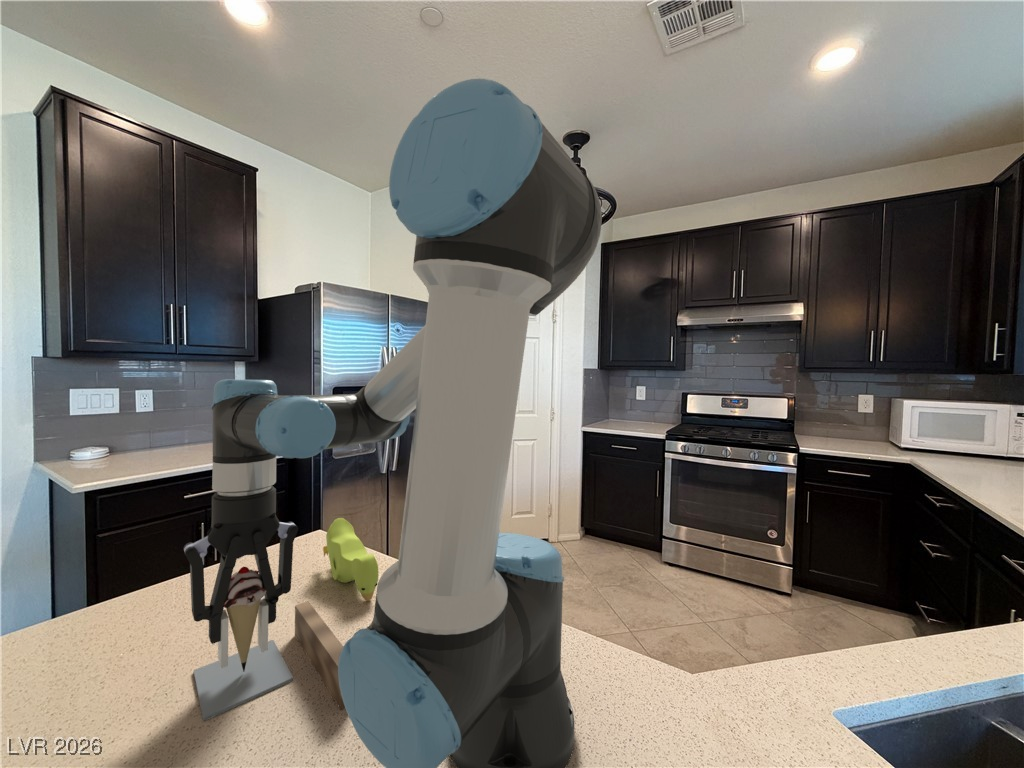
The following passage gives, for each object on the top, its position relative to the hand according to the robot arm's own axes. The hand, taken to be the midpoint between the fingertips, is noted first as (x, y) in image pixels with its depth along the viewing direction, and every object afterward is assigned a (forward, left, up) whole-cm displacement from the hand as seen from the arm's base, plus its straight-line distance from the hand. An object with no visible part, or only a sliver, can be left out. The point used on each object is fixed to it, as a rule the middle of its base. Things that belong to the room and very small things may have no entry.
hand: (243, 653), depth 56 cm
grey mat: (0, 0, -3) cm, 3 cm away
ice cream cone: (0, 0, -3) cm, 3 cm away
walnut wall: (-5, -9, -3) cm, 11 cm away
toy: (+17, -21, -4) cm, 27 cm away
